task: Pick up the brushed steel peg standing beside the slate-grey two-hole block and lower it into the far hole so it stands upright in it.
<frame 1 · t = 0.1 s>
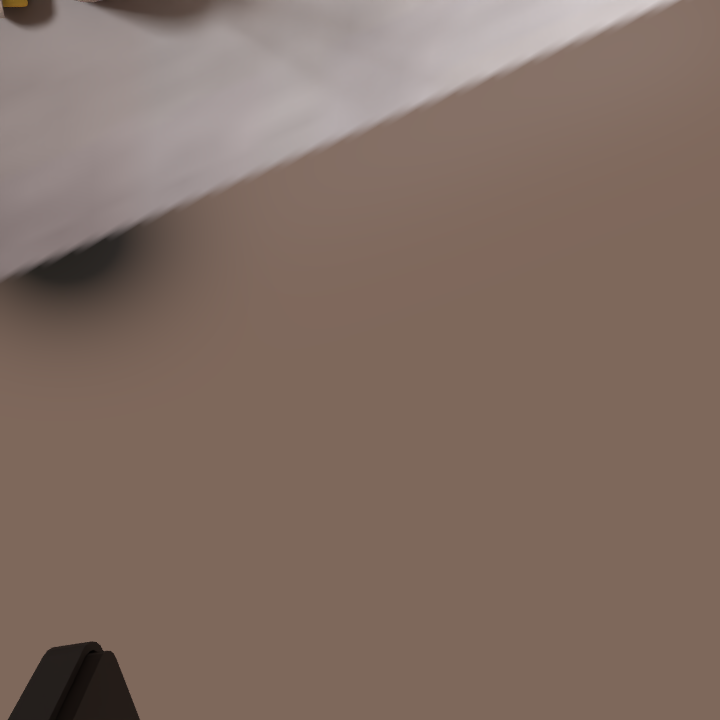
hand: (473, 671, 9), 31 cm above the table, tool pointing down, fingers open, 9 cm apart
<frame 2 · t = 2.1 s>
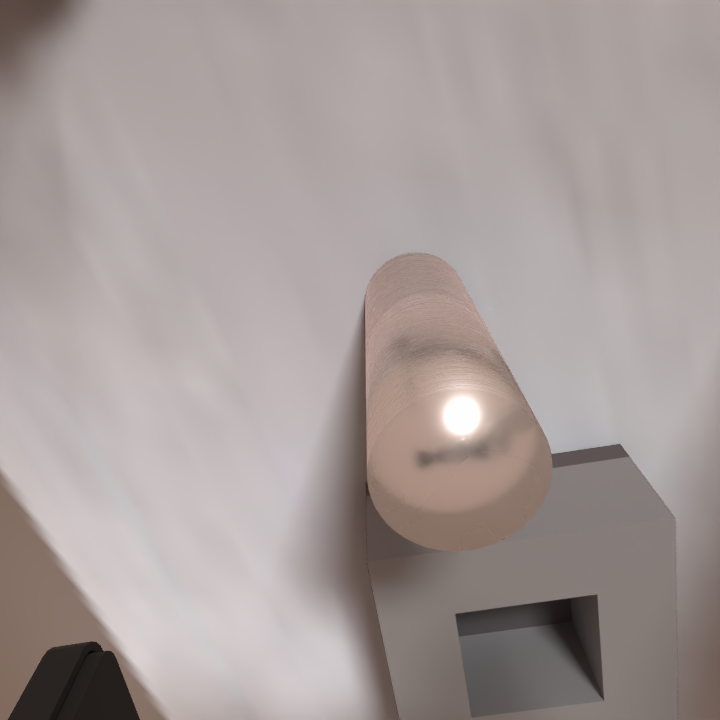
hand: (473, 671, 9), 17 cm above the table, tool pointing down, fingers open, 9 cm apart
hole block: (515, 658, 30), on the table
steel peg: (415, 302, 25), on the table
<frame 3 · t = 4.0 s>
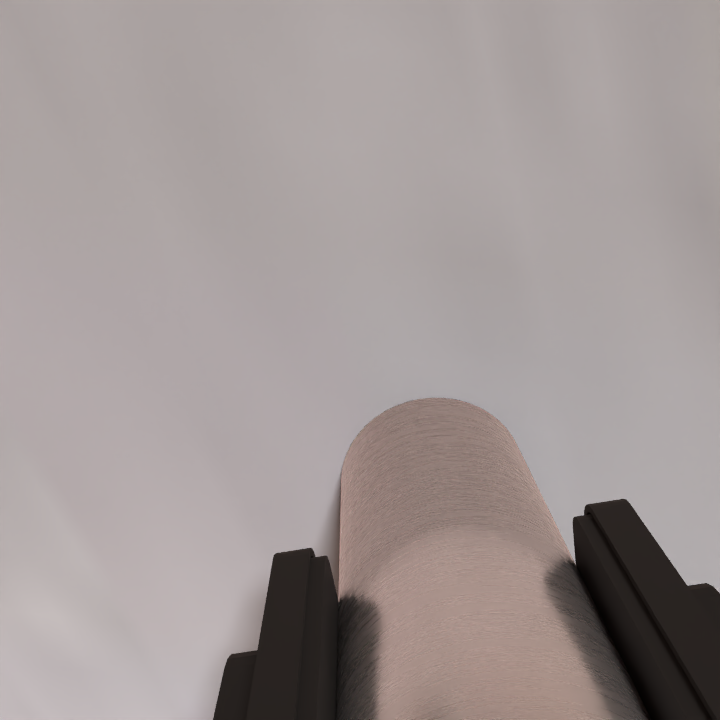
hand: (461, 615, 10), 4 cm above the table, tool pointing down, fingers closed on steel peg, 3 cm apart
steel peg: (432, 481, 13), on the table, touching gripper
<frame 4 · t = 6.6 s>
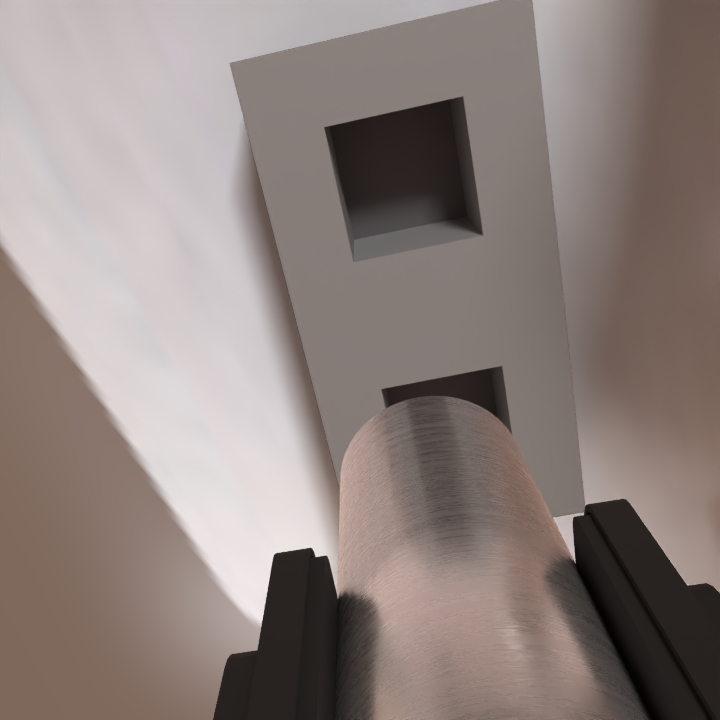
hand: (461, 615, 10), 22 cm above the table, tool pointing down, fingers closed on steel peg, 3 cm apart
hole block: (419, 280, 30), on the table
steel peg: (431, 479, 13), point 18 cm above the table, touching gripper
when the fingers open (6 cm above the table, at t = 9.6 s): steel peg drops 1 cm, resting on hole block.
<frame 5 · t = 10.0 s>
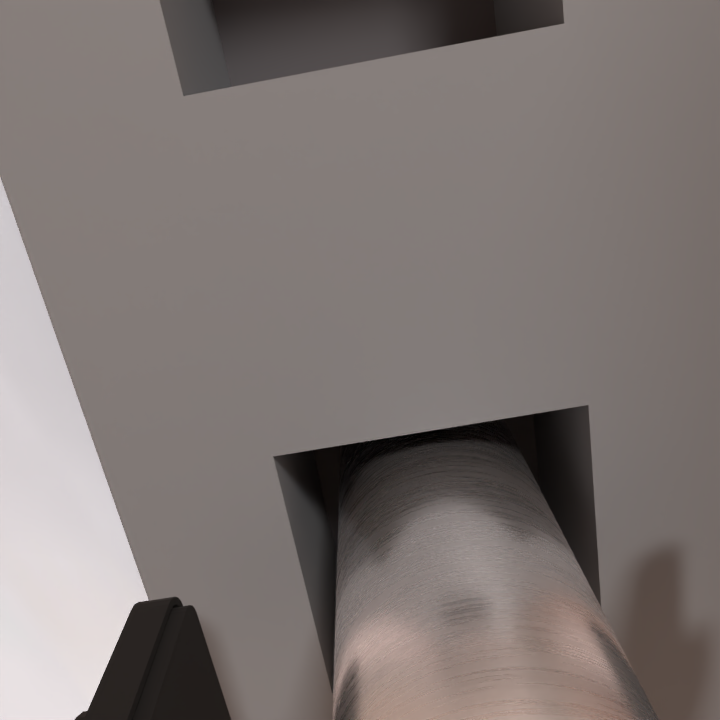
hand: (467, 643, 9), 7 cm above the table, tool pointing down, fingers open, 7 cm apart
hole block: (385, 210, 14), on the table
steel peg: (423, 445, 15), point 1 cm above the table, touching hole block
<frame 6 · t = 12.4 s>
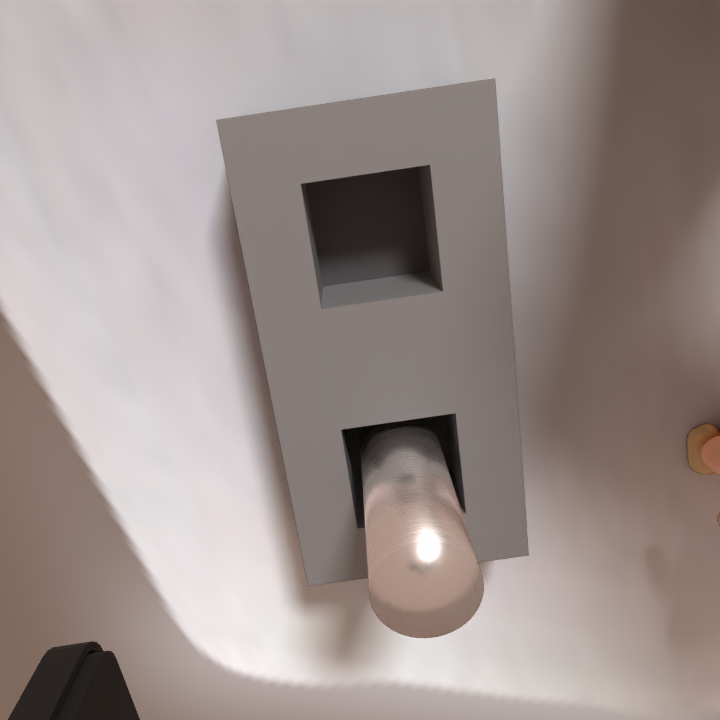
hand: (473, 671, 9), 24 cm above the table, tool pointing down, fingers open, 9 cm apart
hole block: (382, 328, 32), on the table
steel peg: (396, 432, 33), point 1 cm above the table, touching hole block
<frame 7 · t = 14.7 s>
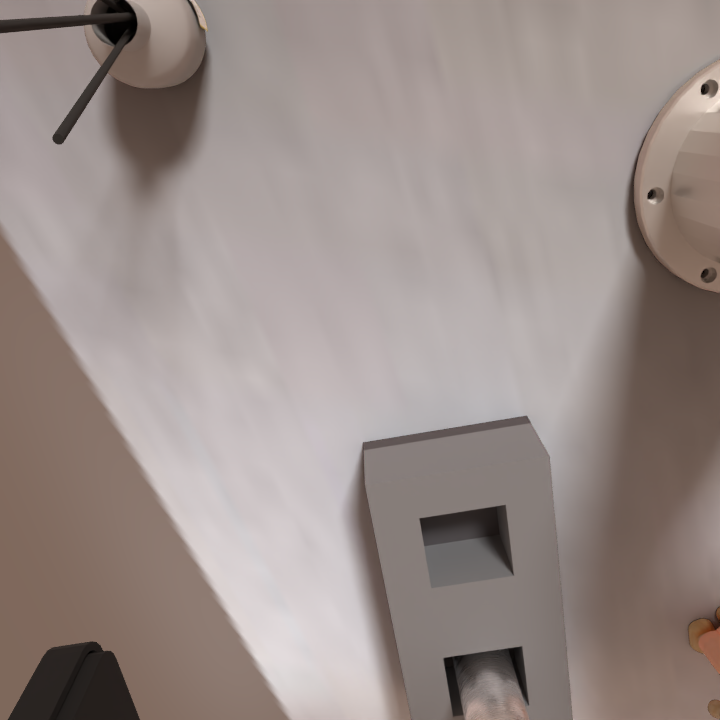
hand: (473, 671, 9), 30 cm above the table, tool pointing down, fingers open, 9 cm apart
hole block: (464, 564, 45), on the table
reed diffuser: (140, 37, 34), on the table
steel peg: (475, 634, 46), point 1 cm above the table, touching hole block
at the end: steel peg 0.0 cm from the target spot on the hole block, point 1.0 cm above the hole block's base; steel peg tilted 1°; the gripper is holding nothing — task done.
